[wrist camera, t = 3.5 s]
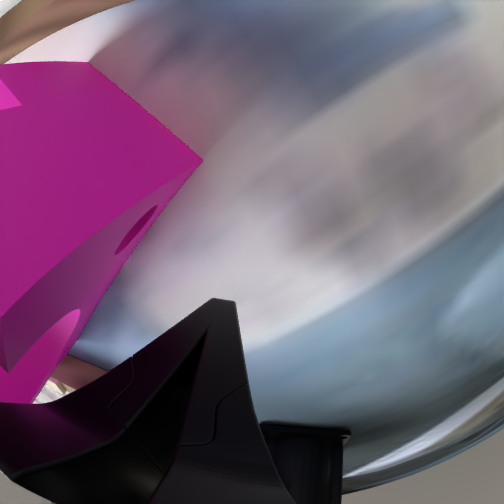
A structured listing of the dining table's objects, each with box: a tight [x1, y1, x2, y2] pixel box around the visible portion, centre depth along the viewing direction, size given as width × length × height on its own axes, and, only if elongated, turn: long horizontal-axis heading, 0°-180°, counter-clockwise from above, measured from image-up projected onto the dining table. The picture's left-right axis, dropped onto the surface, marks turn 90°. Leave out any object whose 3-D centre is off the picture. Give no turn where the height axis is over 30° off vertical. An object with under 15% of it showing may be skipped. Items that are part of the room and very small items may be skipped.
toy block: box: [0, 61, 203, 404], centre depth 8 cm, size 15×6×8 cm, turn 137°
